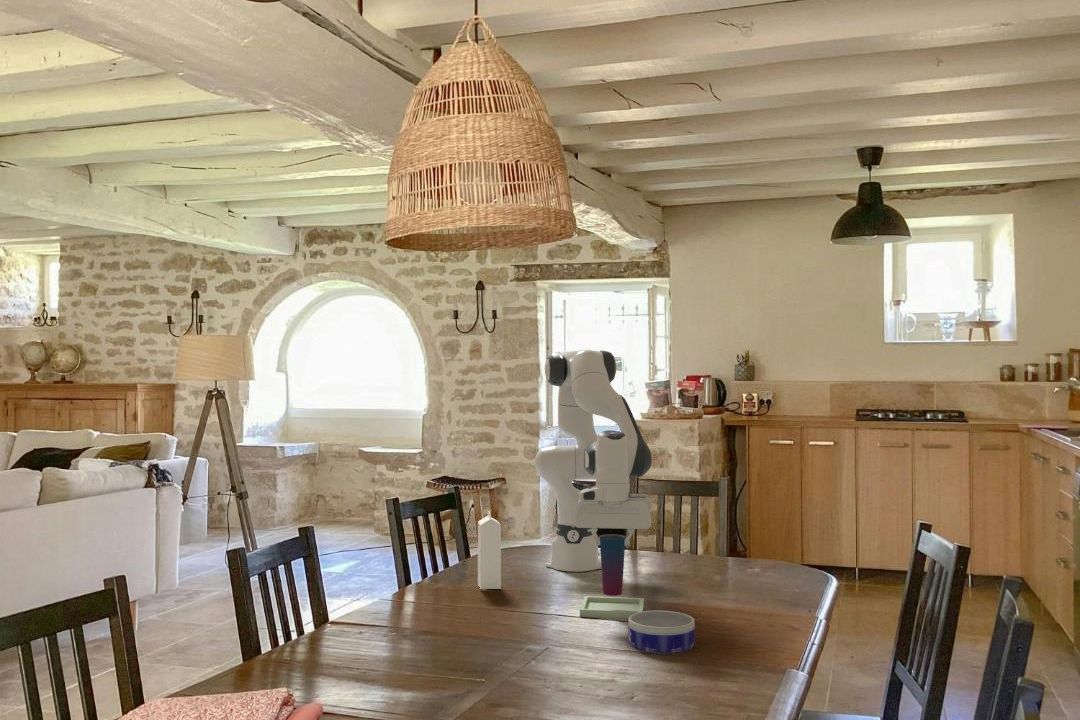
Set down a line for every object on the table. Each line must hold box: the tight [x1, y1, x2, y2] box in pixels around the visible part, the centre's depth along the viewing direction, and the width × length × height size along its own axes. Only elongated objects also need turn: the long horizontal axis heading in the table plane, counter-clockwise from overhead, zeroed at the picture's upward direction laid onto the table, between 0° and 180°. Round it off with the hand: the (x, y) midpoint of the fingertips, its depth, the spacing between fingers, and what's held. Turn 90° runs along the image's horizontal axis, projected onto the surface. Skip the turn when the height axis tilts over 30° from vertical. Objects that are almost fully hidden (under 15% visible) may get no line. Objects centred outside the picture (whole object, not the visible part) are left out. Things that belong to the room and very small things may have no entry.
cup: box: [599, 533, 626, 597], centre depth 243 cm, size 7×7×15 cm
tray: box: [579, 595, 645, 619], centre depth 243 cm, size 14×16×2 cm
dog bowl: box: [627, 609, 696, 654], centre depth 215 cm, size 15×15×6 cm
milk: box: [477, 510, 502, 590], centre depth 268 cm, size 6×6×22 cm
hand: (612, 545), depth 243 cm, fingers closed on cup, 6 cm apart
